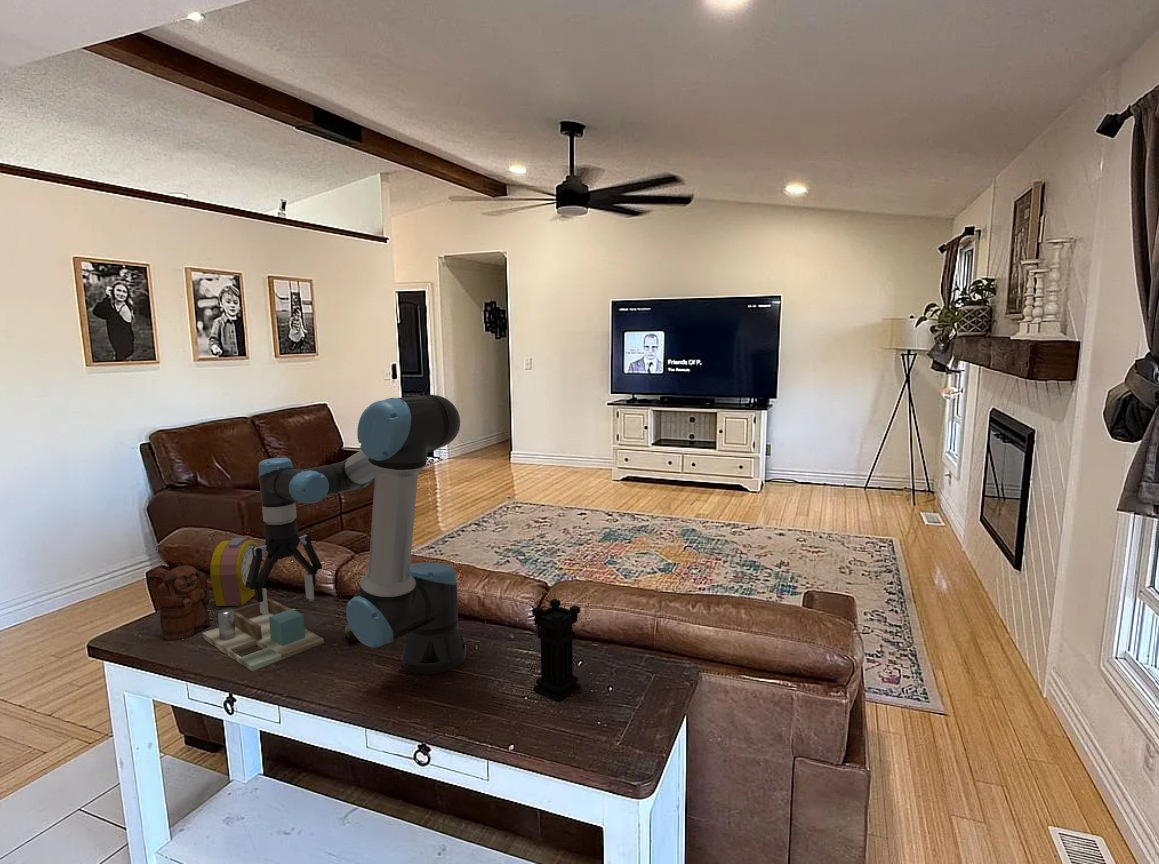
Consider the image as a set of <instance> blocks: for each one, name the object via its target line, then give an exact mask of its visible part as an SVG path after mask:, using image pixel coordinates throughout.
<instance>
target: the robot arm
mask: <svg viewBox="0 0 1159 864" xmlns="http://www.w3.org/2000/svg"><path fill="white" fill-rule="evenodd" d="M460 429H461V417H460V414H459V411H458V409H457V408H456V406H455V405H454V404H453V403H452V402H451V401H450V400H449V399H447V398H446V397H444V396H442V395H438V394H437V395H436V394H425V395H424V394H423V395H417V396H404V397H389V398H385V399H383V400H377V401H374V402H372V403H370V404H369V406H367V407H366V408H365V409H364V410H363V411H362V413H361V415H360V417H359V420H358V423H357V430H356V433H357V441H358V443H359V444H360V446H359V448H360V450H359V451H357V452H356V453H354V454H352V455H351V456H349V457H348V458H346V459H344V460H343V461H339V462H336V463H331V464H325V465H320V466H315V467H309V468H305V469H296V468H294V465H293V462H292V460H291V459H290V458H289V457H275V458H274V457H273V458H266V459H264V460H261V461H260V462H259V464H258V481H259V489H260V499H261V508H262V509H261V510H262V518H263V519H262V520H263V522H265V523H264V524H263V531H264V532H263V533H264V538H265V539H264V540H265V543H264V545H262V546H258V547H253V548H252V552H253V558H252V562H251V566H250V569H249V573H248V577H247V581H246V585H245V586H246V587H247V588H249V589H252V590H253V589H254V590H255V595H254V597H255V598H254V599H255V601H256V603H257V602H259V603H260V613H262V614H264V615H268V614H269V612H268V602H267V599H268V593H267V588H266V587H265V584H266V582H267V580H268V578H269V576H270V574H271V571H272V570H273V569H274V566H275V564H277V562H278V561H279V560H283V559H285V558H289V557H293V558H294V559H295V560H296V561H297V562H298V563H299V564H300V566H301V567H303V569H304V570H305V571H306V572H305V573H303V575H304V576H303V577H304V588H305V589H304V590H305V598H306V599H308V600H310V601H313V600H315V595H314V594H315V593H314V586H315V585H317V580H316V575H317V574H318V570H320V571H321V570H322V568H323V565H322V563H321V561H320V559H319V556H318V554H317V553H316V551H315V548H314V547H313V543H312V537H311V535H309V534H308V535H307V534H302V535H301V536H299V535H298V534H299V529H298V520H297V519H296V518H297V506H296V502H298V503H301V504H306V505H307V504H316V503H317V504H318V503H320V502H321V501H322V500H323V499H325V498H326V497H329V496H334V495H336V494H337V495H338V494H342V493H347V492H350V491H358V490H360V489H362V488H366V487H368V486H369V485H370V484H371V482H372V480H373V479H374V484H373V485H374V486H373V499H372V500H373V501H372V513H371V514H372V515H371V529H370V542H369V555H368V556H369V558H368V572H367V573H366V574H365V575H364V576H362V577H361V579H360V581H359V594H358V595H357V596H354V597H352V598H351V599H350V600H349V601H348V602H347V604H346V608H345V615H346V620H347V625H348V624H349V626H350V628H351V630H352V632H353V634H354V635H355V636H356V638H357V639H358V641H359V642H360V643H362V644H363V645H364V646H367V647H369V648H379V647H382V646H383V645H386V644H391V643H392V642H393V641H395V640H397V639H399V638H401V637H402V636H405V635H406V638H405V641H404V645H403V649H402V651H401V665H402V666H403V668H404V669H406V670H407V671H409V672H411V673H415V674H419V675H420V674H421V675H430V674H431V675H433V674H438V673H444V672H447V671H450V670H452V669H455V668H457V667H458V666H460V665H461V664H463V662H464V661H465V660H466V658H467V645H466V642H465V640H464V637H463V635H462V632H461V629H460V627H459V615H458V613H459V612H458V582H457V573H456V570H455V569H454V568H453V566H451V565H449V564H445V563H441V562H417V563H412V564H411V560H412V559H411V558H412V547H413V538H414V537H413V536H414V535H413V534H414V527H415V526H414V525H415V524H414V522H415V513H416V503H417V491H418V478H419V472H420V471H422V470H423V469H425V468H426V466H427V464H428V463H427V461H428V453H432V452H435V451H436V450H439V449H441V448H443V447H445V446H447V445H449V444H451V443H452V442H453V441H454V440H455V439H456V437H457V436H458V434H459V432H460ZM299 544H301V545H302V547H303V549H304V551H305V554H306V555H307V557H308V559H309V560H307V559H306V558H305V556H304V555H302V553H301V552H300V550H299V549H298V546H299ZM265 552H267V555H266V557H265V561H264V563H263V565H262V561H263V556H264V555H265ZM309 561H310V562H309ZM260 566H261V569H260ZM259 570H260V573H259ZM258 574H259V575H258Z"/></svg>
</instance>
